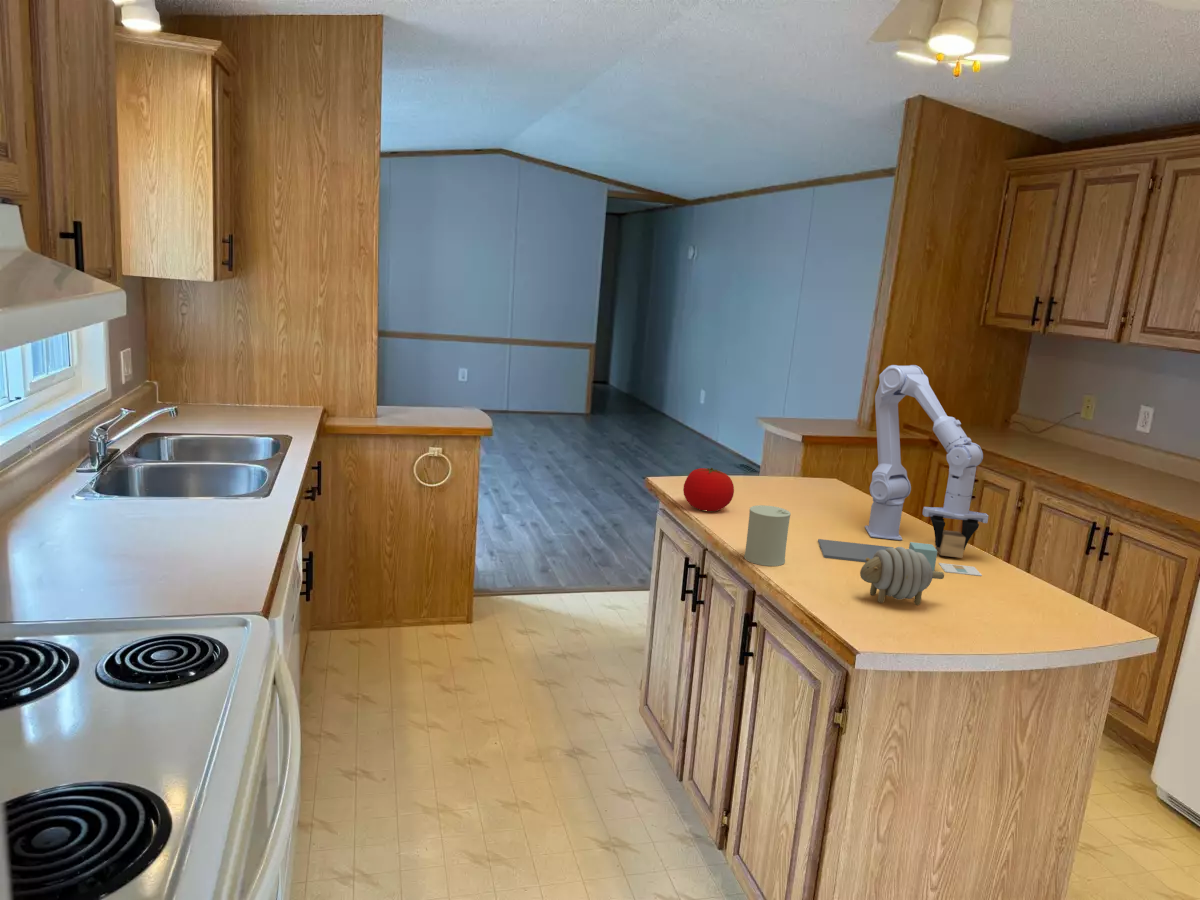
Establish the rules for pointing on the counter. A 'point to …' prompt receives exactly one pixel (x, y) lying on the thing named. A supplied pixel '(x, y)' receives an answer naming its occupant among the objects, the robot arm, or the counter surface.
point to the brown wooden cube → (952, 544)
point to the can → (767, 535)
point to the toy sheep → (898, 574)
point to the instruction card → (960, 569)
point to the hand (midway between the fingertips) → (949, 547)
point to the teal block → (925, 552)
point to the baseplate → (848, 550)
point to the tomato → (708, 489)
